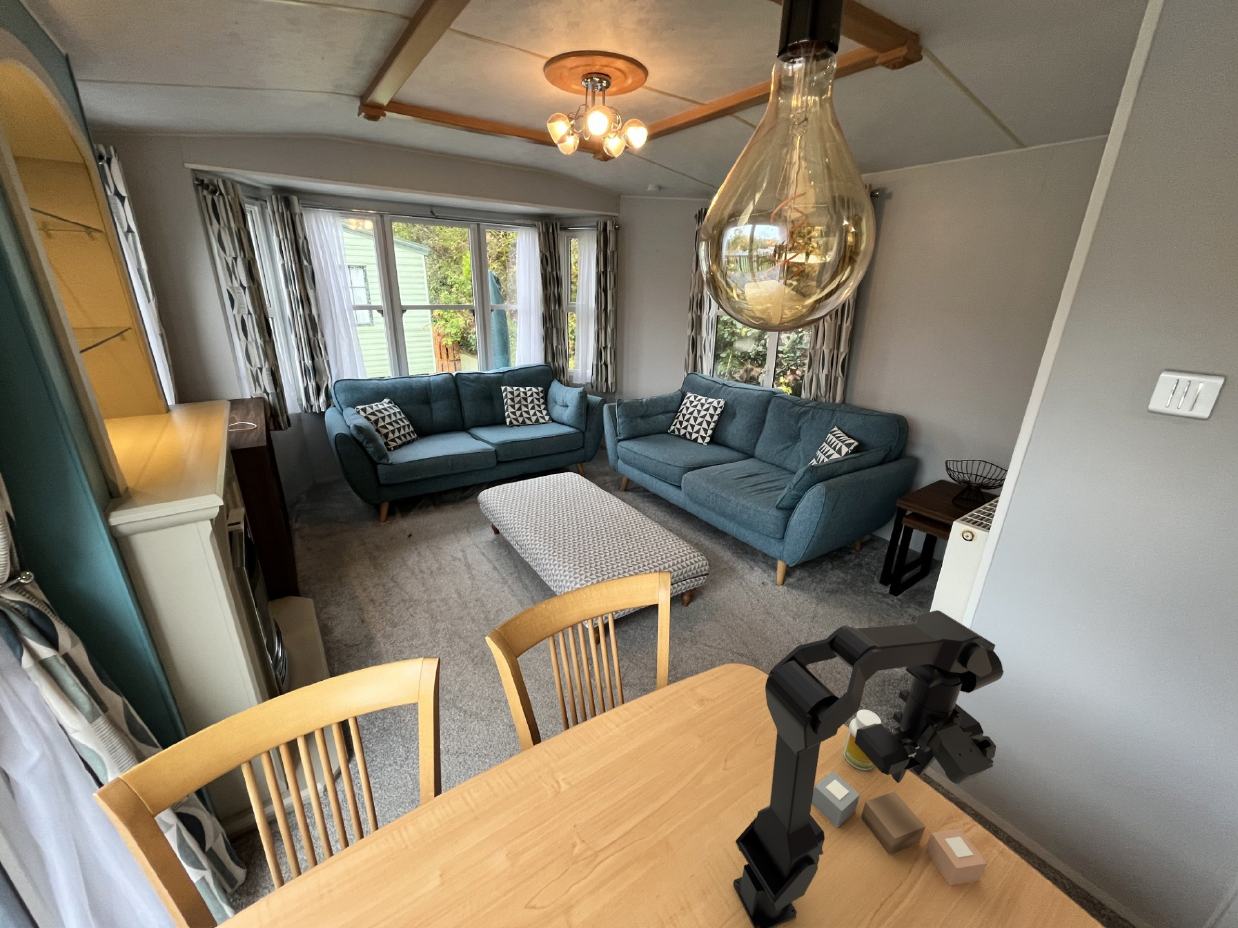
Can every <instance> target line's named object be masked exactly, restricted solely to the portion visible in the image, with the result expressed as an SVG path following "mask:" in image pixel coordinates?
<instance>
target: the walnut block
mask: <svg viewBox="0 0 1238 928" xmlns="http://www.w3.org/2000/svg"><path fill="white" fill-rule="evenodd" d="M860 819H861V820H862V822H863V823H864V824H865V826H866V827H867V828H868V829H869V831H871V833H872V835H873V836H874V838H876V840H877V842H878V843H879V844H880V845H881V847H882V848H883V849H884V850H885V852H886V853H887V854H888V855H889V856H891V855H894V854H896V853H899V852H901V851H903V850H907V849H909V848H911V847H914V846H916V845H920V843H921V842H922V841H921V840H922V837H923V834H924V832H925V828H926V826H925V824H924V823H923V822H922V821H921V820H920V819H919V818H918V816H917V815H916V814H915V813H914V812H913V810H912V809H911V808H910V807H909V806H908V805H907V804H906V803H905V801H904V800H903V799H902V798H901V797H900V795H898V794H897V792H896V791H895V790H894V791H891V792H889V793H885V794H884V795H880V796H878V797H877V796H876V797H875V798H872V799H869V800H866V801H865V802H864V805H863V809H862V811H861V816H860Z"/></svg>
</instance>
